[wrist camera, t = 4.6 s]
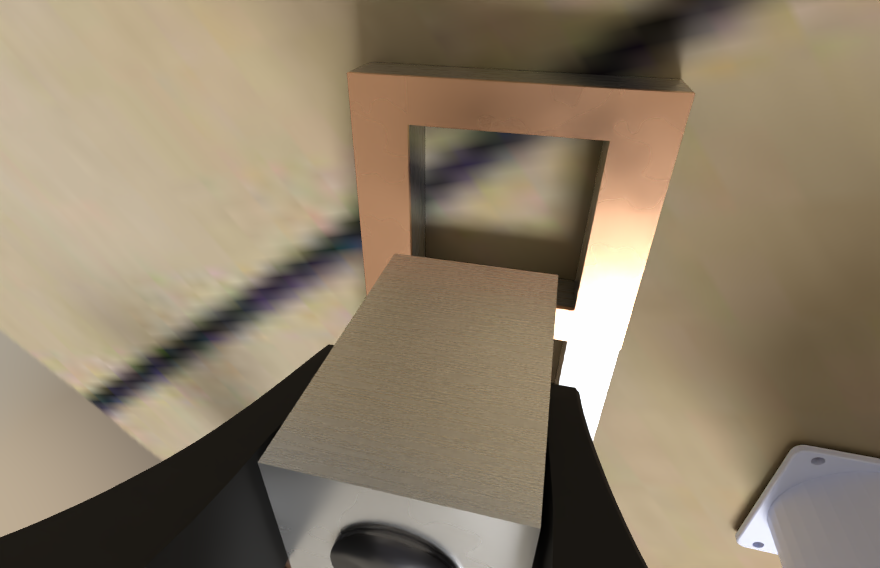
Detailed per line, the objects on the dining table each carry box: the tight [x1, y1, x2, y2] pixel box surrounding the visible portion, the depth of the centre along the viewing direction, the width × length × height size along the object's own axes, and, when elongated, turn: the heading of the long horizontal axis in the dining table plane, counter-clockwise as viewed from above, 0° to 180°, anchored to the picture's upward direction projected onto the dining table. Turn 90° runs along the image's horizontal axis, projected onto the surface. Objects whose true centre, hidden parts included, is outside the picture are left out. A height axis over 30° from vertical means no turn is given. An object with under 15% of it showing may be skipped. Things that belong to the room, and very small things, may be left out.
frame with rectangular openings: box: [347, 62, 695, 441], centre depth 22 cm, size 10×26×2 cm, turn 179°
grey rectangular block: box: [258, 254, 558, 568], centre depth 11 cm, size 4×4×7 cm
